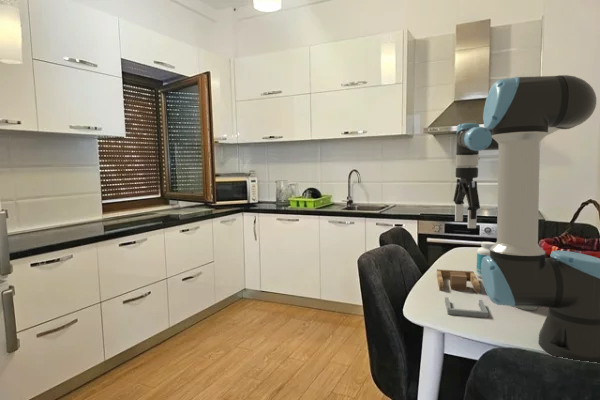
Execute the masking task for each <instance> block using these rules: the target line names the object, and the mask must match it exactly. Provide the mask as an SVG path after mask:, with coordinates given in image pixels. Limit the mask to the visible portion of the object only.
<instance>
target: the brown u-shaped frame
mask: <svg viewBox="0 0 600 400" xmlns="http://www.w3.org/2000/svg"><path fill="white" fill-rule="evenodd" d="M450 272H460V273H465V274H466V276H467V281H470V283H471V285H472V287H473V289H474V292H475V294H481V284H480V281H479V280H478V277H477V275H476V274H475V272H474V271H470V270H453V269H452V270H451V269H436V280H437V285H438V290H439V291H442V292H443V291H444V279H449V280H450Z"/></svg>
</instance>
